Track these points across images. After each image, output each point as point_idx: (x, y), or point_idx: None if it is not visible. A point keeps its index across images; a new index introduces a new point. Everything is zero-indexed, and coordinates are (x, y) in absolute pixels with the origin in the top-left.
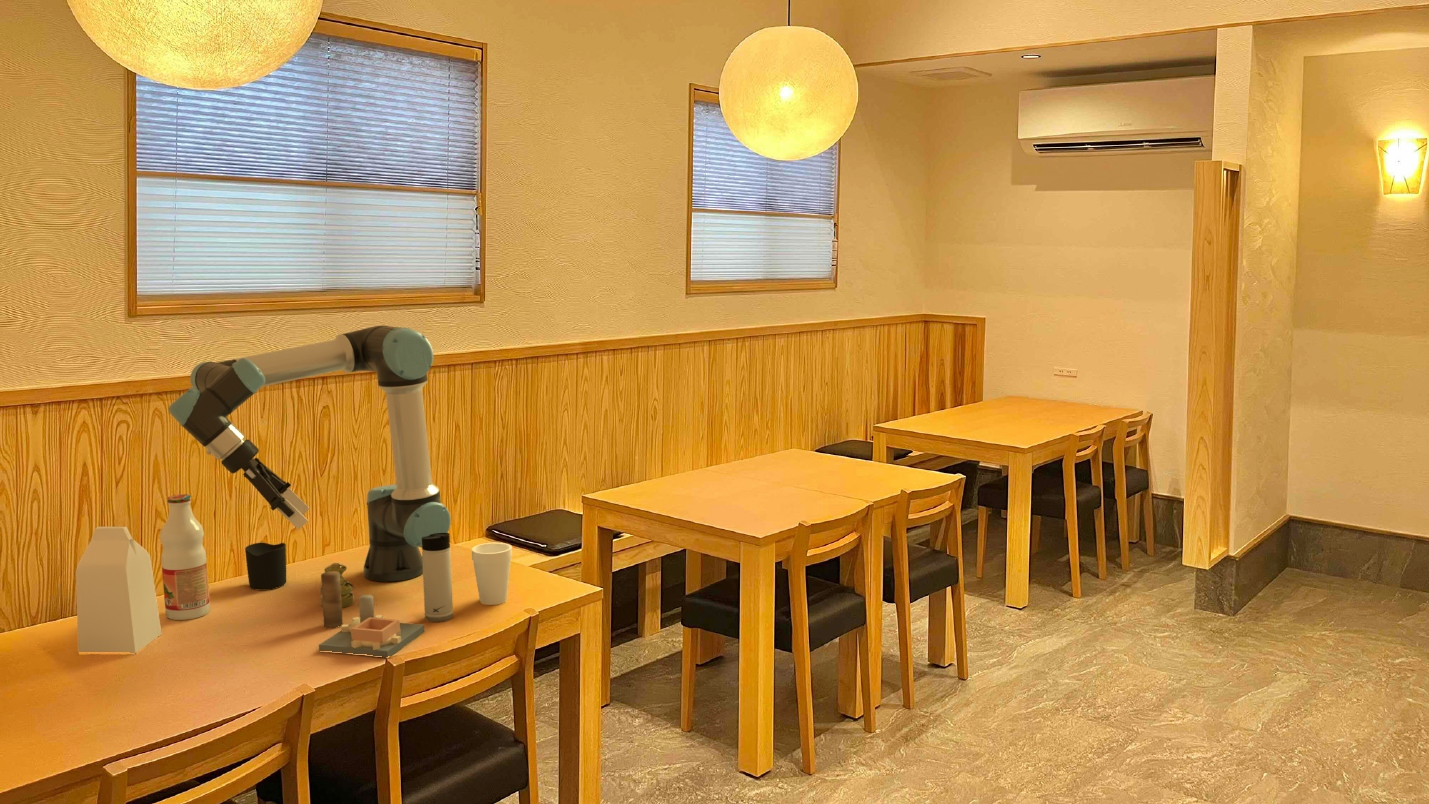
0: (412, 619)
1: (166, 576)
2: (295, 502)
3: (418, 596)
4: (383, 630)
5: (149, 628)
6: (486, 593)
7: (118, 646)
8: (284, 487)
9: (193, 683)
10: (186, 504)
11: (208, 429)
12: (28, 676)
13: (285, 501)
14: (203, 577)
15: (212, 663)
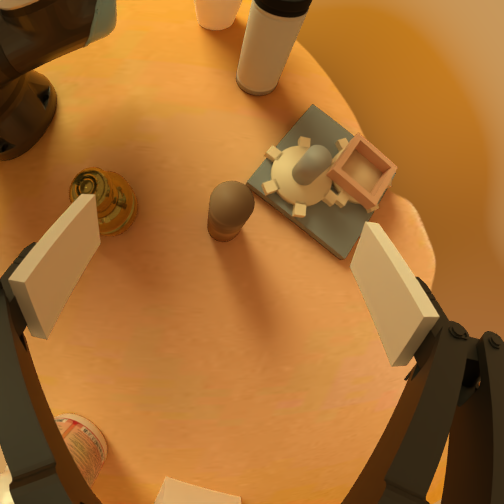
0: (247, 110)
1: None
2: (70, 253)
3: (140, 88)
4: (393, 164)
5: (197, 499)
6: (233, 16)
7: None
8: (10, 310)
9: (379, 416)
10: None
11: None
12: None
13: (432, 320)
14: (68, 448)
15: (322, 407)
